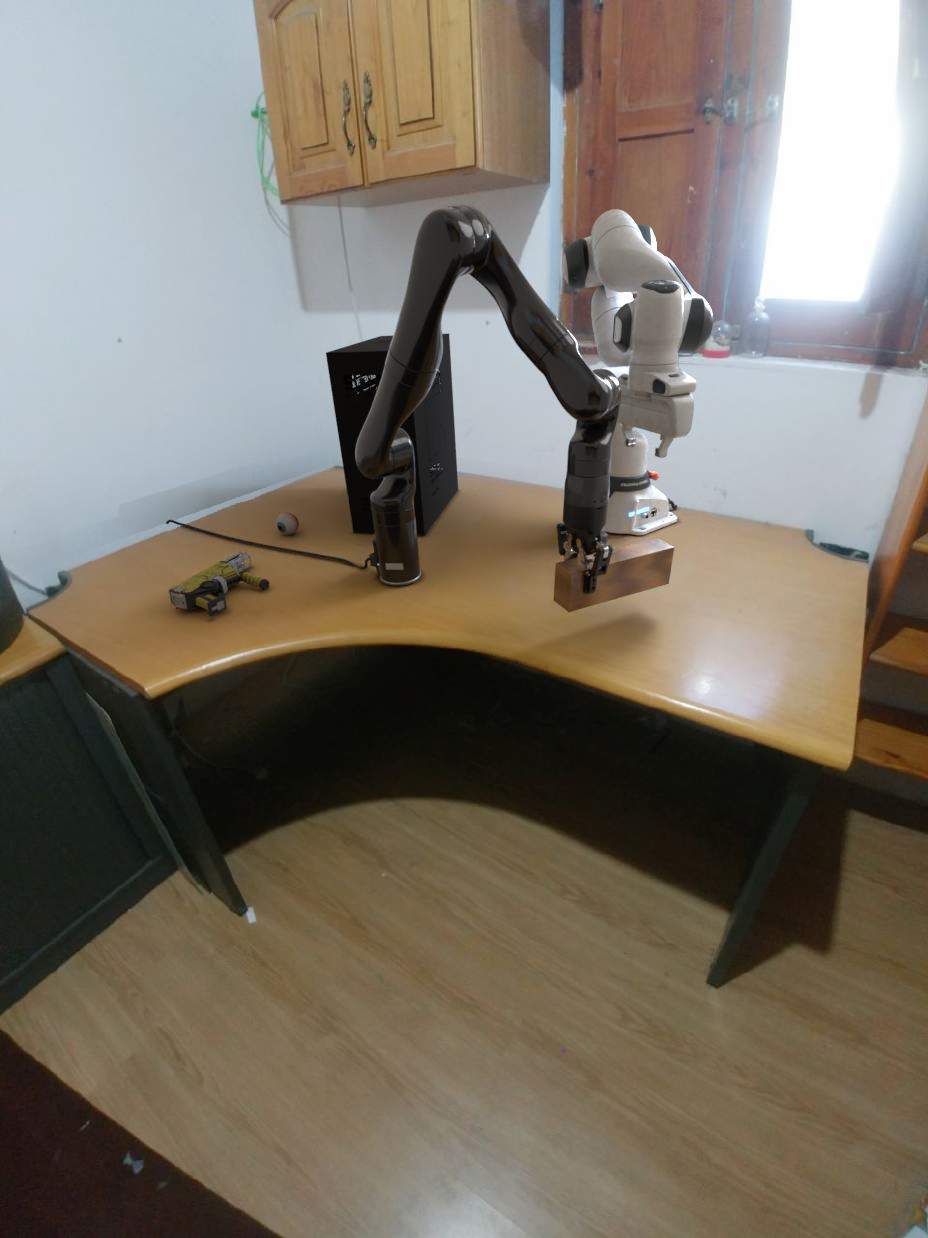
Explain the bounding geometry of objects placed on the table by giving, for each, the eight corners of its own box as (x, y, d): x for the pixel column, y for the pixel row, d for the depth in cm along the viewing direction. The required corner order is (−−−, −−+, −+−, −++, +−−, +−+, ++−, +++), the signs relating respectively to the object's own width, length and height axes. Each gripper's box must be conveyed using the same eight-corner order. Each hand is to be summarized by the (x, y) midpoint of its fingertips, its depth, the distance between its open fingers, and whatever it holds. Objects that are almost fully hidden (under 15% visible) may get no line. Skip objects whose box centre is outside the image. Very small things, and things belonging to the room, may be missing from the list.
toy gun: (290, 560, 142) (237, 549, 146) (223, 603, 122) (163, 589, 126) (292, 578, 144) (239, 566, 148) (226, 623, 124) (167, 609, 128)
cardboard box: (424, 535, 159) (408, 350, 137) (353, 532, 164) (325, 352, 141) (458, 489, 191) (449, 333, 168) (397, 488, 195) (380, 335, 173)
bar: (651, 573, 121) (656, 537, 117) (668, 583, 117) (674, 546, 113) (553, 600, 113) (555, 562, 109) (568, 612, 109) (571, 573, 105)
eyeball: (273, 537, 164) (268, 516, 161) (287, 528, 169) (282, 508, 166) (291, 539, 161) (286, 518, 158) (305, 530, 166) (301, 510, 163)
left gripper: (544, 489, 106) (541, 575, 115) (592, 514, 95) (585, 608, 104) (580, 482, 109) (575, 567, 118) (631, 506, 98) (621, 598, 106)
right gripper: (605, 374, 121) (600, 443, 128) (675, 387, 105) (666, 465, 112) (630, 370, 124) (624, 438, 131) (703, 383, 107) (692, 460, 114)
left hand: (580, 585), depth 111 cm, fingers closed on bar, 5 cm apart
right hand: (644, 451), depth 121 cm, fingers open, 8 cm apart
